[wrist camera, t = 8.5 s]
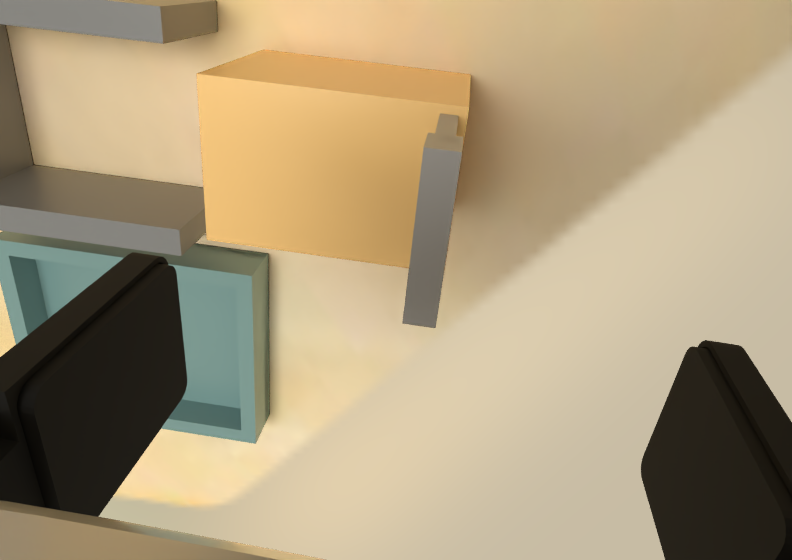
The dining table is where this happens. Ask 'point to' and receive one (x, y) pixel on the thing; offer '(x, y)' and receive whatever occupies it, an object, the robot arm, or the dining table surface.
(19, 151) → the dock
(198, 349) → the tray
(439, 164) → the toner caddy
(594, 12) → the dining table surface
